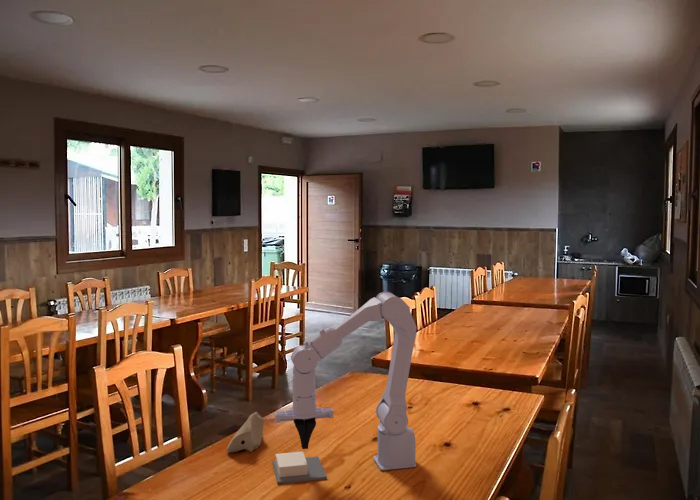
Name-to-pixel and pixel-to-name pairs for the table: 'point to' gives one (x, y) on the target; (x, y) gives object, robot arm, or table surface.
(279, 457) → the block
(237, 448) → the grey animal figurine
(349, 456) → the table surface
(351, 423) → the table surface
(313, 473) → the mat
